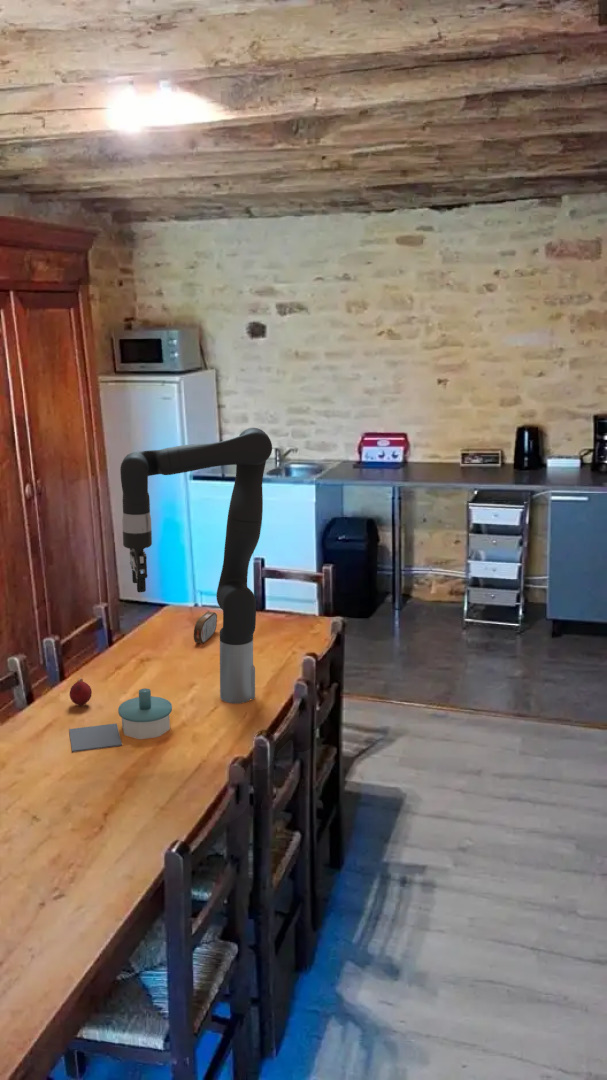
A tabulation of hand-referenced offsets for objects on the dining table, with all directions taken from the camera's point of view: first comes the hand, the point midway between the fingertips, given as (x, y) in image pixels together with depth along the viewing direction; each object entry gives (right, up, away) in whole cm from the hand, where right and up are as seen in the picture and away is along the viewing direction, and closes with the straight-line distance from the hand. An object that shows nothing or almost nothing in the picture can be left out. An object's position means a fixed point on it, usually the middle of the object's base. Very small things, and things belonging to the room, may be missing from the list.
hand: (139, 587), depth 238 cm
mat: (-8, -37, -15) cm, 41 cm away
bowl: (+4, -36, -9) cm, 37 cm away
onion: (-16, -33, +3) cm, 37 cm away
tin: (+12, -20, +54) cm, 58 cm away
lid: (+4, -31, -10) cm, 33 cm away
